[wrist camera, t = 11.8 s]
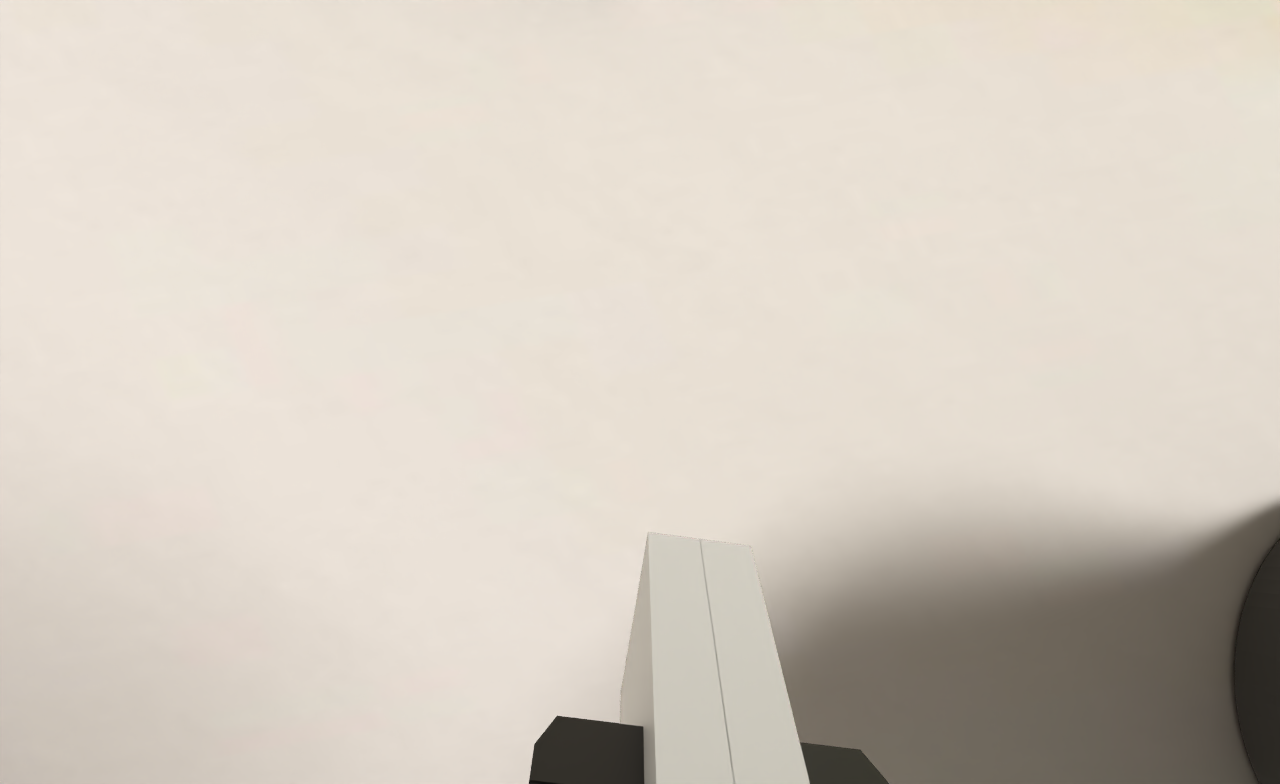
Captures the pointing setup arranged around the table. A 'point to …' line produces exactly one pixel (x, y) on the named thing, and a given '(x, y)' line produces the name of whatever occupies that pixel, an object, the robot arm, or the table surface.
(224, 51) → the table surface
